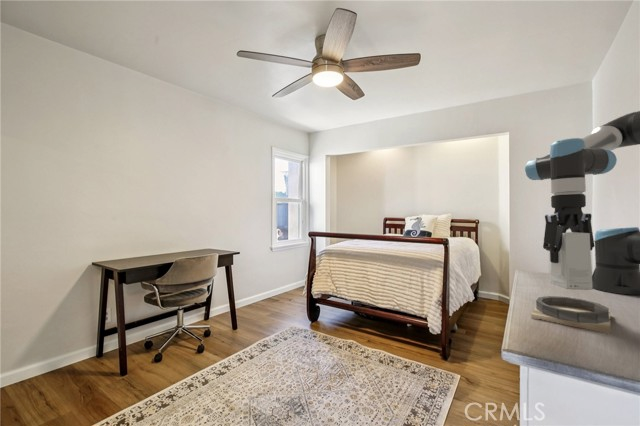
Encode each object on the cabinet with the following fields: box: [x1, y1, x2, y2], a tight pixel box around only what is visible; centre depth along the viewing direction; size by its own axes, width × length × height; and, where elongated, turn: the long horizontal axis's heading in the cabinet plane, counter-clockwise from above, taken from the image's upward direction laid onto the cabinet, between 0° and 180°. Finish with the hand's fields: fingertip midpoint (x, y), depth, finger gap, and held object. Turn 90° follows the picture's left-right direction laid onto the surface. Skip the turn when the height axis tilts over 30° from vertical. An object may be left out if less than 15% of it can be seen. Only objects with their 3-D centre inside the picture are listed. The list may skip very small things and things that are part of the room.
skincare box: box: [548, 231, 594, 291], centre depth 83 cm, size 8×7×16 cm
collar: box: [530, 295, 612, 334], centre depth 83 cm, size 16×16×4 cm
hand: (569, 273), depth 83 cm, fingers closed on skincare box, 8 cm apart
